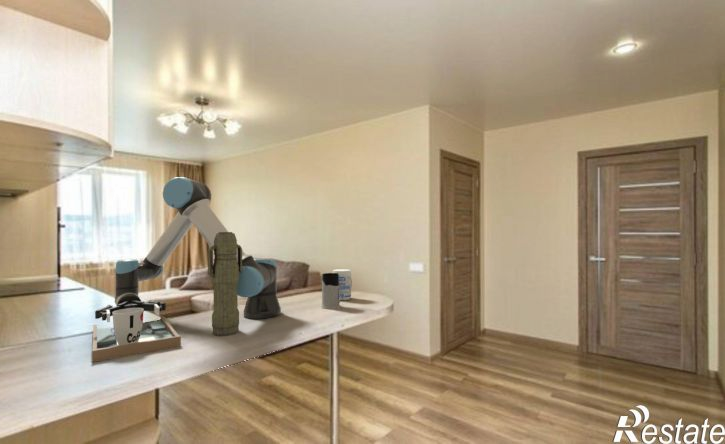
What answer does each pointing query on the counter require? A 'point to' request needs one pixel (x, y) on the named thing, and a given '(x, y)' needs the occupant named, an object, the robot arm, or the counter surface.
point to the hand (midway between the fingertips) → (134, 314)
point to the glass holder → (331, 290)
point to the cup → (128, 325)
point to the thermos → (225, 283)
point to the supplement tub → (344, 283)
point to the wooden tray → (148, 341)
